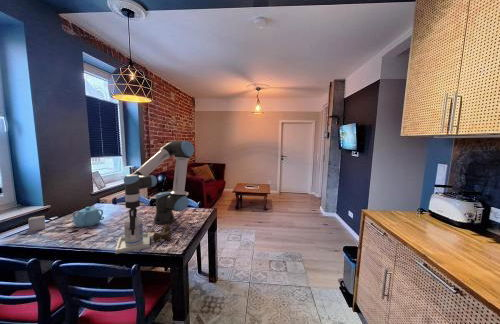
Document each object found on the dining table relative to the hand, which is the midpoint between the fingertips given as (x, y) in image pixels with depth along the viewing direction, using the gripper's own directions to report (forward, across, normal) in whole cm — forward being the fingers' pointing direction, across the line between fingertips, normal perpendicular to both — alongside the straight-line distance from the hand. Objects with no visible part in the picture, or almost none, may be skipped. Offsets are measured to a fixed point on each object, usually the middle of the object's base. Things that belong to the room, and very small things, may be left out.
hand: (133, 235), depth 123 cm
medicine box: (+6, -52, -63) cm, 82 cm away
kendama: (+6, -2, +17) cm, 18 cm away
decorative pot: (+6, -48, -33) cm, 59 cm away
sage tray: (+5, 0, 0) cm, 5 cm away
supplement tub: (+5, 0, 0) cm, 5 cm away
